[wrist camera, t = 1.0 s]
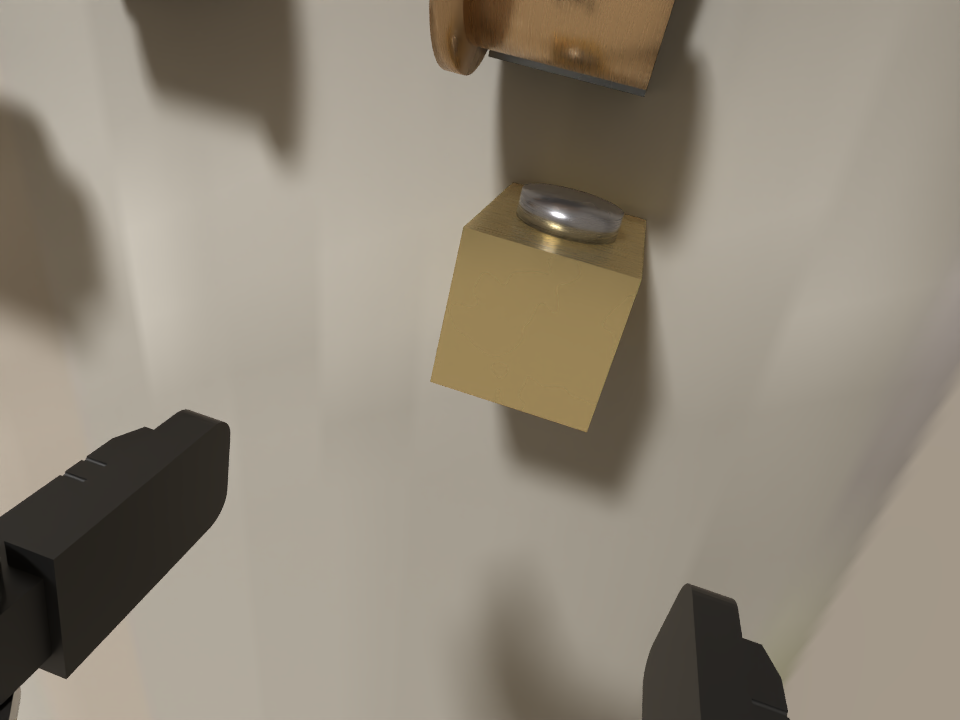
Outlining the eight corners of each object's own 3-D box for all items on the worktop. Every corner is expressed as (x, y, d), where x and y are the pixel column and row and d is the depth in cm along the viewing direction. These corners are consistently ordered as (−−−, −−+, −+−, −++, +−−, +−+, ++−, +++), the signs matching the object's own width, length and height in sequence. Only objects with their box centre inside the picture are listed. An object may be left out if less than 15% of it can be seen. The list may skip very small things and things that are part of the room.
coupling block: (518, 160, 24) (469, 198, 18) (653, 198, 23) (651, 251, 17) (479, 322, 27) (425, 402, 21) (597, 359, 26) (579, 453, 20)
